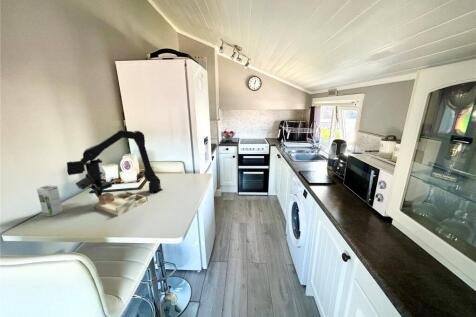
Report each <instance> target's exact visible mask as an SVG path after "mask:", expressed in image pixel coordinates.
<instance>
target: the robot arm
mask: <svg viewBox="0 0 476 317" xmlns="http://www.w3.org/2000/svg"><path fill="white" fill-rule="evenodd" d="M123 138H124V139H131V140H133V141H134V143H135V144H136V146H137V148H138V152H139V155H140V159H141V161H142V165H143V170H141V172H142V174H143V178H144V179H145V180H146V181H147V182H148V192H149V193H152V194H157V193H159V192H162V191H163V188H162V186H161V179H160V178H159V176H157V175H156V173H155V171H154V170H153V168H152V164H151V162H150V159H149V155H148V153H147V149H146V141H145V140H146V139H145V138H146V137H145V134H144V133H143V132H142V131H140V130H135V131H130V130H123V129H118V131H117V132H115V133H113V134H112V135H110V136H109V137H107V138H106V139H104V140H103V141H101V142H100V143H98V144H95V145H93V146H90V147H88V148H85V150H84V151H83V153H82V158H81V159H80V160H77V161H66V168H67V169H66V172H67V174H68V176H73V175H74V176H75V175H79V174H80V175H81V174H83V173H84V172H85V171H86V174H85V176H84V178H82V179H80V180H79V181H77V182H76V183H75V185H76V186H77V188H78V189H79V190H86V189H87V188H88V189H90V190H92V192H93V193H94V194H95V196H96V197H97V198H98V196H99V195H102V194H103V193H104V192H103V191H104V190H106V189H109V188H112V187H113V183H112V182H111V181H106V180H104V178H102V175H103V171H101V168H100V164H103V160H102V159H100V158H99V156H100V155H101V154H102V153H103V151H105V150H106V149H108V148H109V147H111V146H112V145H114V144H115V143H117V142H118V141H119V140H121V139H123ZM97 157H98V158H97Z"/></svg>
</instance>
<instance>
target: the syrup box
mask: <svg viewBox="0 0 476 317" xmlns="http://www.w3.org/2000/svg"><path fill="white" fill-rule="evenodd" d="M58 188H59V187H58V186H57V185H51V184H48V185H44V186H40V187H38V188H36V193H37V197H38V199H39V200H38V201H39V204H40V207H41V211H42V214H43V216H46V217H54V216H56V215H59V214H60V213H62V212H64V207H63V204H62V199H61V196H60V192H59V189H58Z"/></svg>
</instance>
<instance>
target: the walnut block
mask: <svg viewBox="0 0 476 317" xmlns="http://www.w3.org/2000/svg"><path fill="white" fill-rule="evenodd" d="M114 196H115V195H114V194H113V193H111V192H109V191H108V192H105V193H102V195H99V196H98V197H97V199H98V202H99V203H102V204H108V203H110V202H112V201H114Z"/></svg>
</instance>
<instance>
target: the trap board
mask: <svg viewBox="0 0 476 317" xmlns="http://www.w3.org/2000/svg"><path fill="white" fill-rule="evenodd" d="M148 198H149V197H148V196H145V195H141V194H139V193H134V192H131V191H126V190H125V191H123V192H120V193H118V194H115V195H114V201H112V202H110V203H108V204H102V203H99V201H98V202H96V203H95V202H94V208H95V209H96V210H99V211H102V212H106V213H107V214H111V215H114V216H117V217H119V216H122V215H123V214H124V213H127V212H129V211H131V210H133V209H135V208H137V207H139V206H141V205H143V204H145V203H146V201H147V202H148V201H149V199H148ZM144 202H145V203H144Z"/></svg>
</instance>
